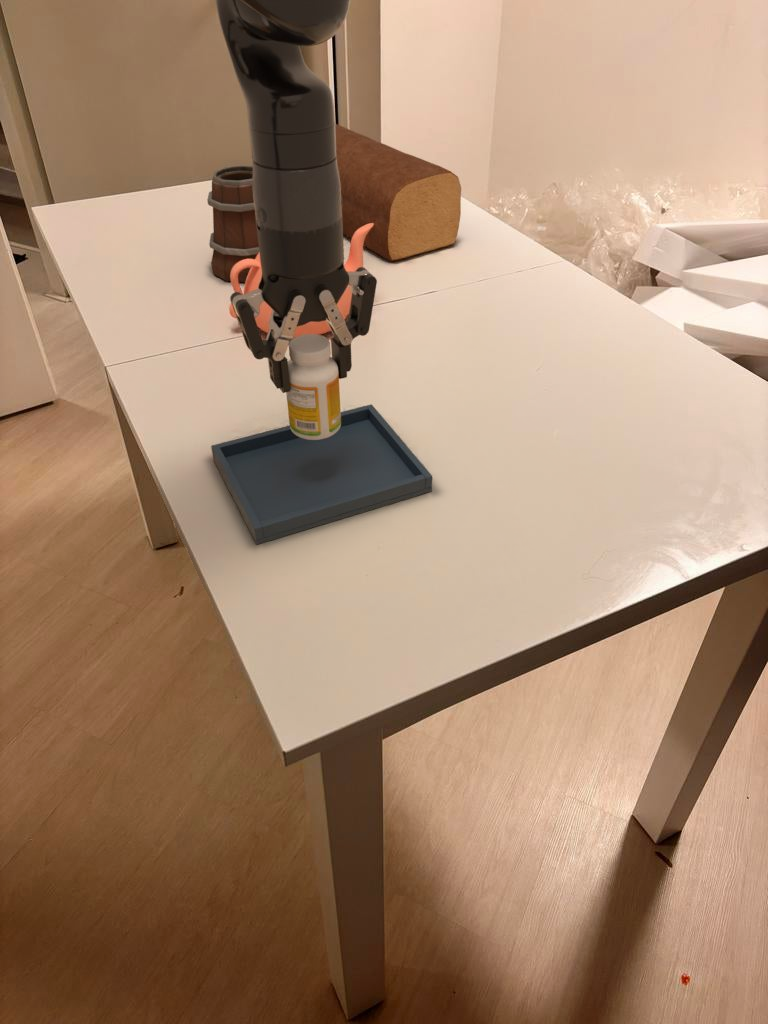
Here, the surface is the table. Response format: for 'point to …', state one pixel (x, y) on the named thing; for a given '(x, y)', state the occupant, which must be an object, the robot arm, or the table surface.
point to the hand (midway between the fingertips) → (311, 381)
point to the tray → (318, 474)
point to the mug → (233, 220)
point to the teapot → (265, 310)
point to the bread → (395, 197)
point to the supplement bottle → (313, 388)
